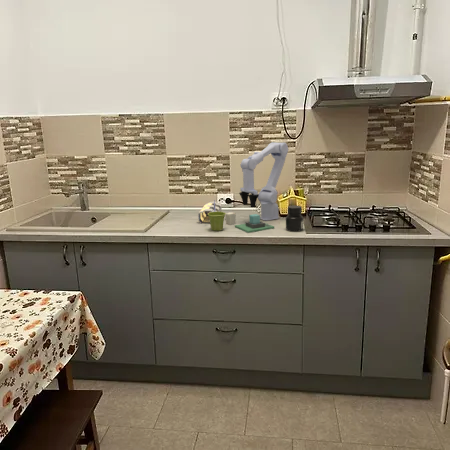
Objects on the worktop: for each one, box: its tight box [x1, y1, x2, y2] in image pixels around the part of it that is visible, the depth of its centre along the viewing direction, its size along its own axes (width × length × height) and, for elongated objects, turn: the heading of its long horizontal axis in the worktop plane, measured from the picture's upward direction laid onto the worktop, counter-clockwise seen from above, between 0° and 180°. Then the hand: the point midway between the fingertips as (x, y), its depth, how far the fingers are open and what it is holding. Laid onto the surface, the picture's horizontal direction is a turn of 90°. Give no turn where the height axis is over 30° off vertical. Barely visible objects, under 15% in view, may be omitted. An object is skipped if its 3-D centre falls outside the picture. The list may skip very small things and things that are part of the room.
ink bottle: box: [285, 205, 304, 232], centre depth 218 cm, size 10×9×12 cm
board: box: [234, 220, 275, 234], centre depth 226 cm, size 16×14×3 cm
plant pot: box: [207, 211, 227, 232], centre depth 224 cm, size 9×9×9 cm
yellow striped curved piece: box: [198, 199, 223, 224], centre depth 249 cm, size 25×10×13 cm, turn 174°
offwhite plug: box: [224, 211, 237, 226], centre depth 235 cm, size 4×4×6 cm
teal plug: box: [248, 213, 261, 224], centre depth 224 cm, size 4×4×6 cm
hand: (249, 206), depth 233 cm, fingers open, 7 cm apart
